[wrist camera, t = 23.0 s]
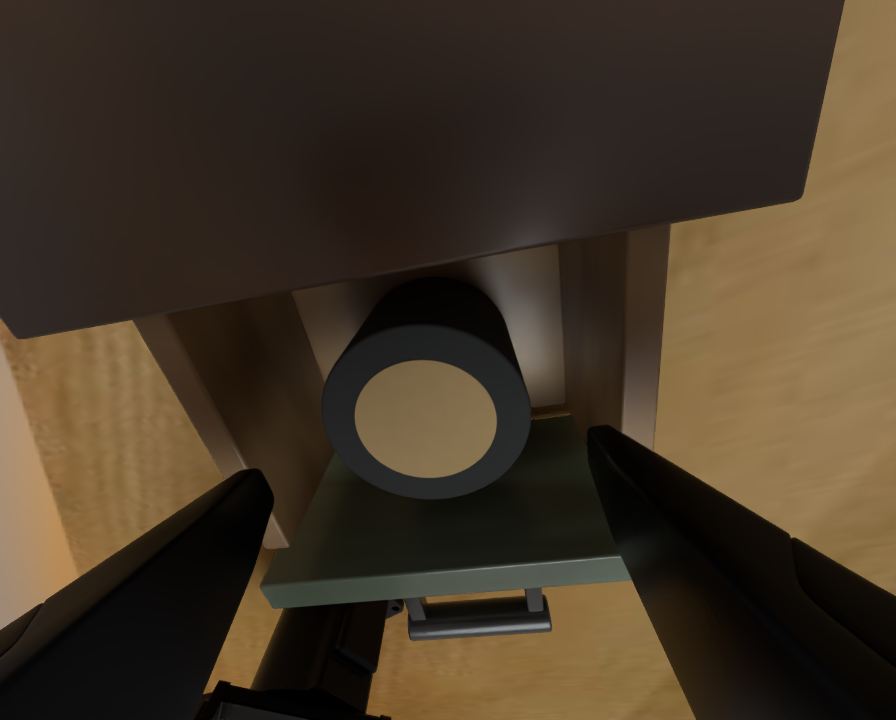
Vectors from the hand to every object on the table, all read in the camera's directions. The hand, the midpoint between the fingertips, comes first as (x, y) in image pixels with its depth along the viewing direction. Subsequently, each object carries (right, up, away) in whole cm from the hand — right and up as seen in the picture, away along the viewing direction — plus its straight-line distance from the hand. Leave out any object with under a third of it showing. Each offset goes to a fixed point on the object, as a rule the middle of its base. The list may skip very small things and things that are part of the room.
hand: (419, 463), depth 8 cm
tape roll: (0, +3, +6) cm, 6 cm away
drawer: (+1, +1, +8) cm, 8 cm away
